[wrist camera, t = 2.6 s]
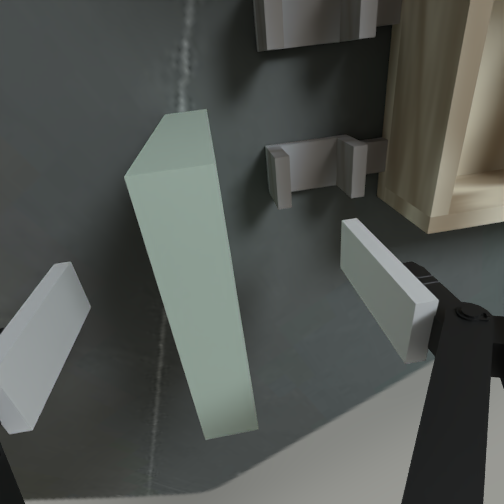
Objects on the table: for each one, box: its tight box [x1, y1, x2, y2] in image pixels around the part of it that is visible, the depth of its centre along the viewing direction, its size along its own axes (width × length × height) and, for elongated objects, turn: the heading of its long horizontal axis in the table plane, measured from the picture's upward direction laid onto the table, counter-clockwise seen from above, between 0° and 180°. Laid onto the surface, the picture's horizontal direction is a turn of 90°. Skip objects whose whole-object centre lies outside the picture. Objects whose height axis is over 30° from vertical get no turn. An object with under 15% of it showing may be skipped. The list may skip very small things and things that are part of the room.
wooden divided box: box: [253, 0, 504, 234], centre depth 17 cm, size 24×14×6 cm, turn 96°
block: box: [124, 109, 259, 440], centre depth 17 cm, size 3×12×12 cm, turn 6°
